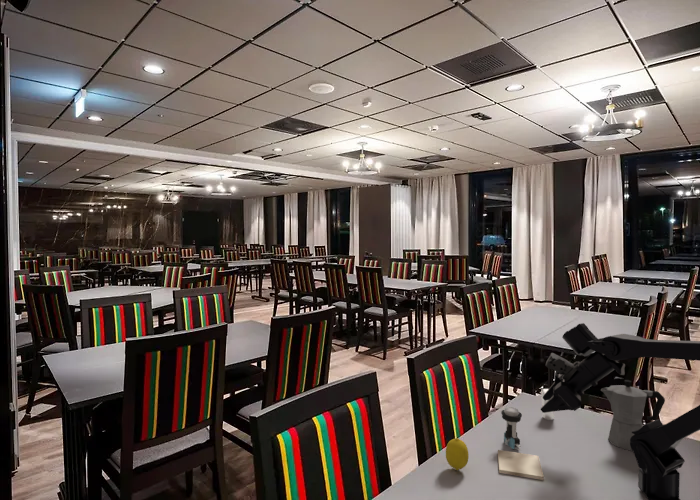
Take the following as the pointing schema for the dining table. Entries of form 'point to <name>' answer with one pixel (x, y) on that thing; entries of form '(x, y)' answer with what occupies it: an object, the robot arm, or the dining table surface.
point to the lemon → (457, 454)
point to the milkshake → (545, 415)
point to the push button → (511, 427)
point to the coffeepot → (629, 411)
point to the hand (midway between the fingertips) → (542, 404)
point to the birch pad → (520, 464)
